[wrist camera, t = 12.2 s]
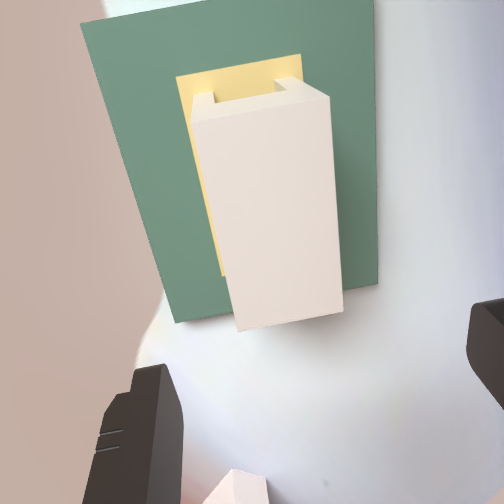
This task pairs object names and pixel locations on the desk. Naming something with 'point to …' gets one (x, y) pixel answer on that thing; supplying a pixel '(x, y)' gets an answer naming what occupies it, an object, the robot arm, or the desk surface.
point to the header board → (225, 89)
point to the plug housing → (272, 201)
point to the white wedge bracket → (239, 489)
